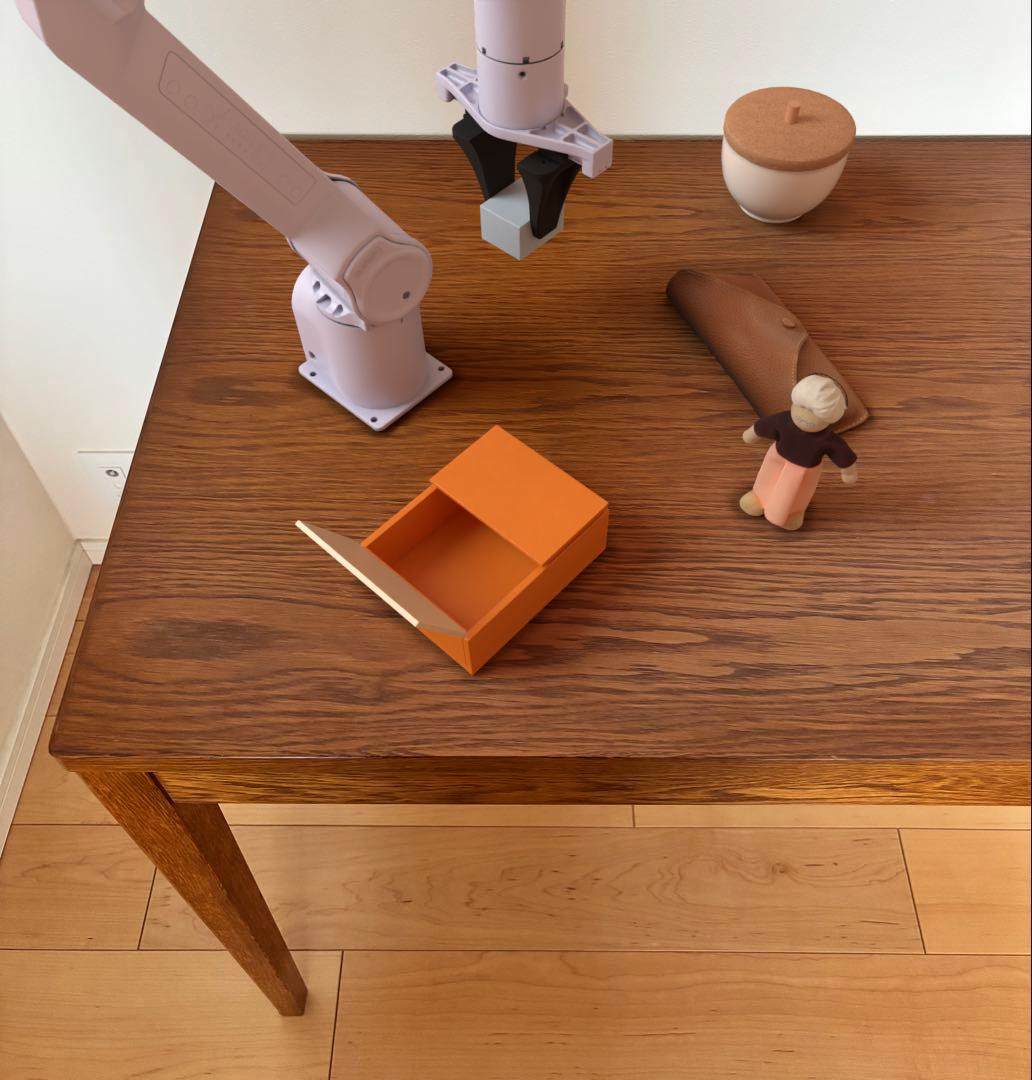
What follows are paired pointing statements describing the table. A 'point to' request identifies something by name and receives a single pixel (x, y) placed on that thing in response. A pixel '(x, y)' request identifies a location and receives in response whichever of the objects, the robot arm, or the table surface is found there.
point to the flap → (382, 581)
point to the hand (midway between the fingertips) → (522, 219)
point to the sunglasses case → (757, 341)
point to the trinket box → (784, 151)
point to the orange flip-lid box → (492, 542)
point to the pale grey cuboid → (512, 222)
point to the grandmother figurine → (798, 453)
